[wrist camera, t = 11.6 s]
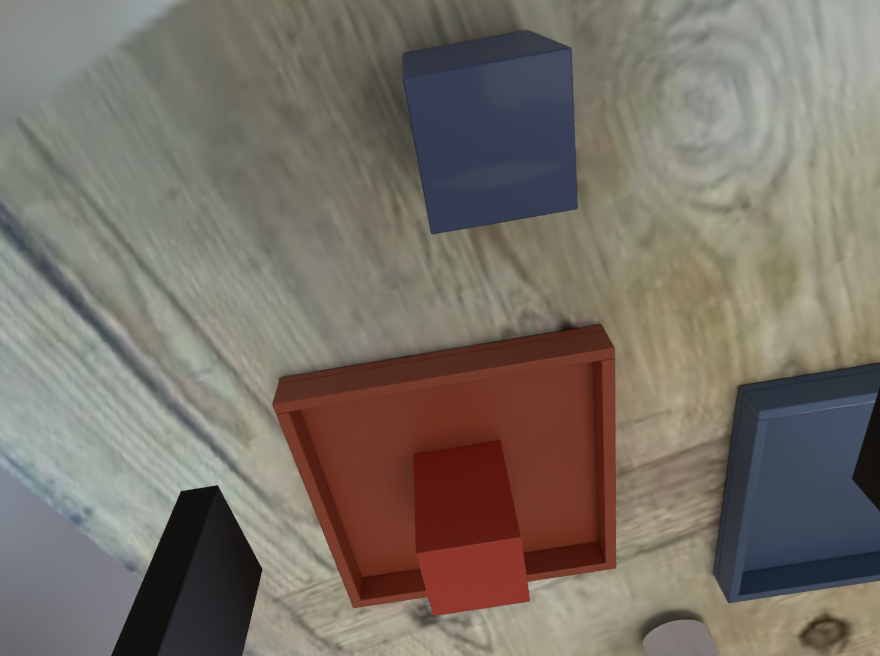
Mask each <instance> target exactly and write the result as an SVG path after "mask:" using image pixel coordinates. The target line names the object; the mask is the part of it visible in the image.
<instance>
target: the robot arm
mask: <svg viewBox="0 0 880 656" xmlns="http://www.w3.org/2000/svg"><path fill="white" fill-rule="evenodd" d="M852 480H853V481H854V482H855V484H856V485H857V486H858V487H859V488H860V489H861V490H862V492H863V493H864V494H865V495H866V496H867V497H868V498H869V500H870V501H871V502H872V503H873V504H874V505H875V507H876V508H877V509H878V510H879V511H880V387H879V390H878V394H877V397H876V400H875V404H874V407H873V410H872V413H871V417H870V420H869V423H868V427H867V430H866V433H865V437H864V440H863V443H862V446H861V450H860V453H859V456H858V460H857V463H856V466H855V470H854V473H853V476H852ZM261 573H262V568H261V566H260V564H259V562H258V560H257V558H256V556H255V554H254V553H253V551H252V549H251V547H250V545H249V543H248V541H247V539H246V537H245V536H244V534H243V532H242V530H241V528H240V526H239V524H238V522H237V521H236V519H235V517H234V515H233V513H232V511H231V509H230V507H229V506H228V504H227V502H226V500H225V498H224V496H223V494H222V492H221V490H220V489H219V487H218V485H217V486H210V487H204V488H198V489H192V490H185V491H181V492H180V495H179V497H178V499H177V502H176V504H175V506H174V509H173V511H172V514H171V516H170V518H169V521H168V523H167V525H166V528H165V530H164V532H163V535H162V537H161V539H160V542H159V544H158V547H157V549H156V551H155V554H154V556H153V558H152V561H151V563H150V565H149V568H148V570H147V573H146V575H145V577H144V580H143V582H142V584H141V587H140V589H139V591H138V594H137V596H136V598H135V601H134V603H133V606H132V609H131V610H130V613H129V615H128V617H127V620H126V622H125V624H124V627H123V629H122V632H121V634H120V636H119V639H118V641H117V643H116V646H115V648H114V651H113V653H112V655H111V656H242V654H243V650H244V646H245V641H246V637H247V633H248V629H249V624H250V620H251V616H252V612H253V607H254V603H255V599H256V594H257V590H258V586H259V582H260V577H261Z"/></svg>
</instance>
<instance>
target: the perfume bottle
mask: <svg viewBox="0 0 880 656" xmlns="http://www.w3.org/2000/svg"><path fill="white" fill-rule="evenodd" d="M643 650H644V652H645V655H646V656H721V653H720V651H719V649H718V647H717V645H716V643H715V641H714V639H713V637H712V634H711V632H710V630H709V628H708V627H707V626H706V625H705V624H703V623H701V622H699V621H695V620H677V621H672V622H668V623H665V624H663V625H660V626H658V627H657V628H655V629H653V630H652V631H651V632H649V633H648V635H647V636H646V637H645V639H644V640H643Z"/></svg>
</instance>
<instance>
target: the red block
mask: <svg viewBox="0 0 880 656" xmlns="http://www.w3.org/2000/svg"><path fill="white" fill-rule="evenodd" d="M413 460H414V502H415V543H416V556H417V560H418V563H419V567H420V570H421V574H422V577H423V581H424V585H425V588H426V592H427V595H428V599H429V602H430V606H431V609H432V613H433V616H436V615H443V614H449V613H456V612H463V611H469V610H476V609H483V608H489V607H496V606H503V605H509V604H516V603H522V602H529V601H530V598H529V591H528V583H527V576H526V568H525V561H524V553H523V546H522V538H521V533H520V528H519V524H518V519H517V514H516V510H515V505H514V500H513V496H512V491H511V486H510V482H509V477H508V472H507V468H506V463H505V458H504V454H503V449H502V444H501V441H494V442H488V443H481V444H475V445H469V446H463V447H456V448H450V449H444V450H438V451H432V452H425V453H419V454H414V455H413Z"/></svg>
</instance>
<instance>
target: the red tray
mask: <svg viewBox="0 0 880 656" xmlns="http://www.w3.org/2000/svg"><path fill="white" fill-rule="evenodd" d="M614 358H615V348H614V346H613V344H612V342H611V341H610V339H609V337H608V335H607V334H606V332H605V330H604V328H603V326H602V325H596V326H590V327H584V328H578V329H572V330H566V331H560V332H554V333H548V334H542V335H536V336H530V337H524V338H518V339H512V340H506V341H500V342H494V343H488V344H482V345H476V346H470V347H464V348H458V349H452V350H446V351H440V352H434V353H428V354H422V355H416V356H410V357H404V358H398V359H392V360H386V361H380V362H374V363H368V364H362V365H356V366H350V367H344V368H338V369H332V370H326V371H320V372H314V373H308V374H302V375H296V376H290V377H284V378H280V380H279V383H278V387H277V390H276V394H275V397H274V400H273V403H272V405H273V407H274V410H275V412H276V414H277V417H278V420H279V422H280V425H281V427H282V430H283V432H284V435H285V437H286V440H287V443H288V445H289V448H290V450H291V453H292V455H293V458H294V460H295V463H296V465H297V468H298V470H299V473H300V475H301V478H302V480H303V483H304V485H305V488H306V490H307V493H308V495H309V498H310V500H311V503H312V505H313V508H314V510H315V513H316V515H317V518H318V520H319V523H320V525H321V528H322V530H323V533H324V535H325V538H326V540H327V543H328V545H329V548H330V550H331V553H332V555H333V558H334V560H335V563H336V565H337V568H338V570H339V573H340V575H341V578H342V580H343V583H344V585H345V588H346V590H347V593H348V595H349V598H350V600H351V603H352V606H353V608H358V607H364V606H371V605H377V604H384V603H391V602H397V601H404V600H410V599H417V598H424V597H428V595H427V592H426V588H425V585H424V581H423V577H422V574H421V570H420V567H419V563H418V560H417V556H416V543H415V502H414V460H413V455H414V454H419V453H425V452H432V451H438V450H444V449H450V448H456V447H463V446H469V445H475V444H481V443H488V442H494V441H501V444H502V449H503V454H504V458H505V463H506V468H507V472H508V477H509V482H510V486H511V491H512V496H513V500H514V505H515V510H516V514H517V519H518V524H519V528H520V533H521V538H522V546H523V553H524V561H525V568H526V576H527V582H529V581H536V580H542V579H549V578H555V577H562V576H569V575H575V574H582V573H588V572H595V571H602V570H608V569H615V568H616V474H615V359H614Z"/></svg>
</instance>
